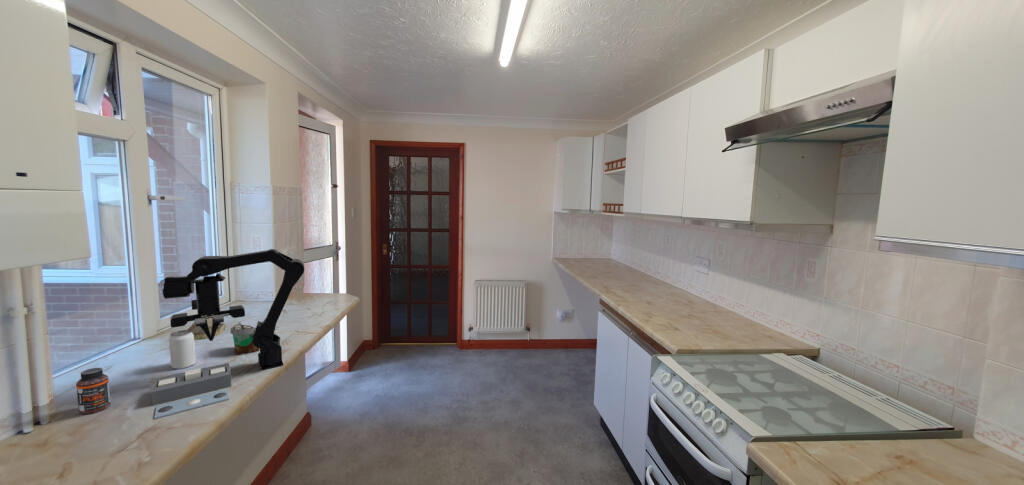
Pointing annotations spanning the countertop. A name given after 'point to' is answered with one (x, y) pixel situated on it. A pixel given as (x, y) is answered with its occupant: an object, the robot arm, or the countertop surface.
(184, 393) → the button board
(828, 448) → the countertop surface
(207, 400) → the pattern card
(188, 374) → the button middle
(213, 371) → the button
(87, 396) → the supplement bottle
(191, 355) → the can
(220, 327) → the ceramic model
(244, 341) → the food container
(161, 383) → the button
